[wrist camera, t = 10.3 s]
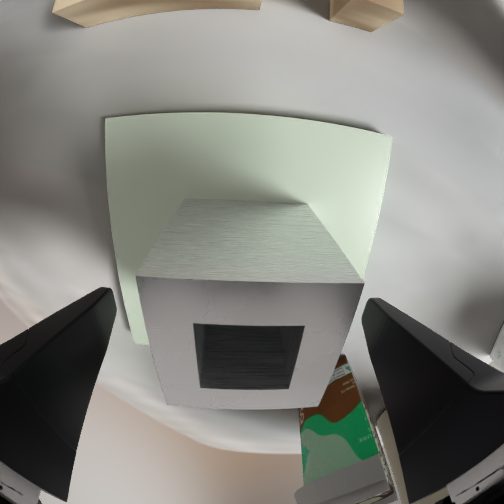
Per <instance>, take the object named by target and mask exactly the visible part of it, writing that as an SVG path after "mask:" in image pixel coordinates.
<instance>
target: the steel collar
mask: <svg viewBox="0 0 504 504" xmlns="http://www.w3.org/2000/svg"><path fill="white" fill-rule="evenodd" d="M136 282H137V288H138V293H139V299H140V304H141V309H142V313H143V318H144V323H145V327H146V331H147V336H148V340H149V344H150V348H151V352H152V356H153V359H154V363H155V367H156V370H157V374H158V377H159V381H160V384H161V387H162V391H163V394H164V397H165V400H166V403H167V405H175V406H185V407H196V408H211V409H236V410H266V409H291V408H306V407H317V406H318V405H319V403H320V401H321V399H322V397H323V394H324V392H325V390H326V388H327V385H328V383H329V381H330V378H331V376H332V374H333V371H334V369H335V366H336V364H337V361H338V359H339V356H340V354H341V351H342V348H343V346H344V343H345V340H346V338H347V335H348V332H349V329H350V327H351V324H352V321H353V318H354V315H355V312H356V309H357V306H358V303H359V300H360V296H361V293H362V290H363V287H364V282H363V280H362V279H361V277H360V276H359V274H358V273H357V271H356V270H355V268H354V267H353V265H352V264H351V263H350V261H349V260H348V258H347V257H346V255H345V254H344V253H343V251H342V250H341V248H340V247H339V246H338V244H337V243H336V241H335V240H334V239H333V237H332V236H331V235H330V233H329V232H328V230H327V229H326V228H325V226H324V225H323V224H322V222H321V221H320V220H319V218H318V217H317V216H316V214H315V213H314V212H313V210H312V209H311V208H310V207H309V205H308V204H301V203H286V202H270V201H251V200H226V199H186V198H185V199H184V201H183V202H182V204H181V205H180V207H179V208H178V209H177V211H176V212H175V214H174V215H173V217H172V218H171V220H170V221H169V223H168V224H167V226H166V227H165V229H164V231H163V232H162V234H161V235H160V237H159V238H158V240H157V241H156V243H155V245H154V246H153V248H152V249H151V251H150V253H149V254H148V256H147V258H146V259H145V261H144V262H143V264H142V266H141V267H140V269H139V271H138V272H137V274H136Z"/></svg>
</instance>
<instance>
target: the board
mask: <svg viewBox="0 0 504 504" xmlns="http://www.w3.org/2000/svg"><path fill="white" fill-rule="evenodd" d="M392 138H393V136H389V135H385V134H381V133H376V132H372V131H368V130H363V129H358V128H353V127H348V126H343V125H337V124H332V123H326V122H319V121H313V120H306V119H298V118H290V117H281V116H270V115H258V114H243V113H217V112H183V113H158V114H143V115H131V116H121V117H112V118H105V161H106V181H107V194H108V205H109V215H110V224H111V232H112V239H113V246H114V253H115V259H116V265H117V270H118V276H119V281H120V286H121V291H122V295H123V300H124V305H125V309H126V313H127V317H128V321H129V325H130V329H131V333H132V337H133V340H134V343H136V344H144V345H150V344H149V340H148V336H147V331H146V327H145V323H144V318H143V313H142V309H141V304H140V299H139V293H138V288H137V282H136V274H137V272H138V271H139V269H140V267H141V266H142V264H143V262H144V261H145V259H146V258H147V256H148V254H149V253H150V251H151V249H152V248H153V246H154V245H155V243H156V241H157V240H158V238H159V237H160V235H161V234H162V232H163V231H164V229H165V227H166V226H167V224H168V223H169V221H170V220H171V218H172V217H173V215H174V214H175V212H176V211H177V209H178V208H179V207H180V205H181V204H182V202H183V201H184V199H185V198H186V199H226V200H251V201H270V202H286V203H301V204H308V205H309V207H310V208H311V209H312V210H313V212H314V213H315V214H316V216H317V217H318V218H319V220H320V221H321V222H322V224H323V225H324V226H325V228H326V229H327V230H328V232H329V233H330V235H331V236H332V237H333V239H334V240H335V241H336V243H337V244H338V246H339V247H340V248H341V250H342V251H343V253H344V254H345V255H346V257H347V258H348V260H349V261H350V263H351V264H352V265H353V267H354V268H355V270H356V271H357V273H358V274H359V276H360V277H361V279H362V280H363V276H364V273H365V269H366V266H367V262H368V259H369V255H370V251H371V247H372V243H373V239H374V235H375V231H376V227H377V222H378V218H379V213H380V209H381V204H382V199H383V194H384V189H385V183H386V178H387V172H388V166H389V159H390V153H391V146H392Z"/></svg>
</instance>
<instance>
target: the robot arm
mask: <svg viewBox="0 0 504 504" xmlns="http://www.w3.org/2000/svg"><path fill="white" fill-rule="evenodd" d="M116 312H117V307H116V303H115V299H114V295H113V291H112V289H111V288H106V287H100V288H98V289H96V290H94V291H93V292H91V293H89V294H87V295H86V296H84V297H82V298H80V299H78V300H77V301H75V302H73V303H71V304H70V305H68V306H66V307H64V308H63V309H61V310H59V311H57V312H56V313H54V314H52V315H51V316H49V317H47V318H45V319H44V320H42V321H40V322H39V323H37V324H35V325H34V326H32V327H30V328H29V330H28V329H27V330H25V331H24V332H22V333H20V334H19V335H17V336H15V337H14V338H12V339H11V340H8V341H7V342H5V343H3V344H1V345H0V504H42V503H41V501H40V500H39V495H40V491H41V490H42V491H44V492H46V493H48V494H50V495H52V496H54V497H56V498H58V499H60V500H62V501H65V502H67V499H68V493H69V486H70V481H71V475H72V470H73V465H74V461H75V456H76V450H77V446H78V442H79V438H80V434H81V430H82V426H83V423H84V419H85V415H86V412H87V408H88V405H89V402H90V398H91V395H92V392H93V389H94V385H95V383H96V379H97V376H98V373H99V371H100V368H101V365H102V362H103V359H104V356H105V353H106V350H107V347H108V344H109V340H110V336H111V332H112V328H113V324H114V320H115V317H116ZM362 325H363V329H364V334H365V338H366V342H367V347H368V351H369V355H370V358H371V362H372V365H373V368H374V371H375V374H376V377H377V380H378V383H379V386H380V390H381V393H382V396H383V399H384V403H385V406H386V410H387V413H388V417H389V420H390V424H391V427H392V431H393V435H394V439H395V443H396V447H397V451H398V454H399V460H400V464H401V468H402V473H403V478H404V482H405V487H406V492H407V498H408V502H409V504H412V503H414V502H417V501H419V500H421V499H423V498H425V497H427V496H430V495H432V494H434V493H436V492H438V491H440V490H442V489H443V488H445V487H447V489H448V492H449V495H448V496H447V497H445V498H443V499H441V500H439V501H437V502H435V504H504V373H503V372H501V371H499V370H497V369H495V368H494V367H492V366H490V365H488V364H486V363H485V362H483V361H481V360H479V359H477V358H476V357H474V356H472V355H470V354H469V353H467V352H465V351H464V350H462V349H461V348H459V347H457V346H456V345H454V344H453V343H451V342H450V343H449V341H448V340H446V339H445V338H443V337H442V336H440V335H439V334H437V333H435V332H434V331H432V330H431V329H429V328H428V327H426V326H424V325H423V324H421V323H420V322H418V321H416V320H415V319H413V318H412V317H410V316H408V315H407V314H405V313H403V312H402V311H400V310H399V309H397V308H395V307H394V306H392V305H390V304H389V303H387V302H386V301H384V300H382V299H381V298H370V299H368V301H367V303H366V306H365V309H364V312H363V315H362Z"/></svg>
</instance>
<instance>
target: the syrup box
mask: <svg viewBox="0 0 504 504" xmlns="http://www.w3.org/2000/svg"><path fill="white" fill-rule="evenodd" d="M490 357H491V359H492V360H493V361H494V363H495V364H496V365H497V367H498V368H499V369H500V371H501V372H503V373H504V324H503V326H502V328H501V330H500V332H499V335H498V337H497V339H496V342H495V344H494V346H493V349H492V351H491V353H490Z"/></svg>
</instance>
